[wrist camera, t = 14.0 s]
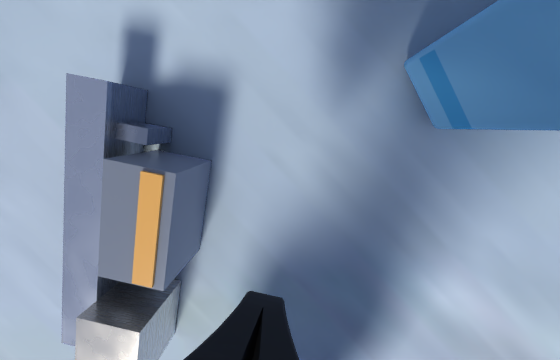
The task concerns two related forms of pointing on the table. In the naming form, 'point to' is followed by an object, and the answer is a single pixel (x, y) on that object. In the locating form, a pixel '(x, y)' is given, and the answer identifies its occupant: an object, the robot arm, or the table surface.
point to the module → (151, 216)
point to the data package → (494, 70)
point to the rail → (86, 229)
